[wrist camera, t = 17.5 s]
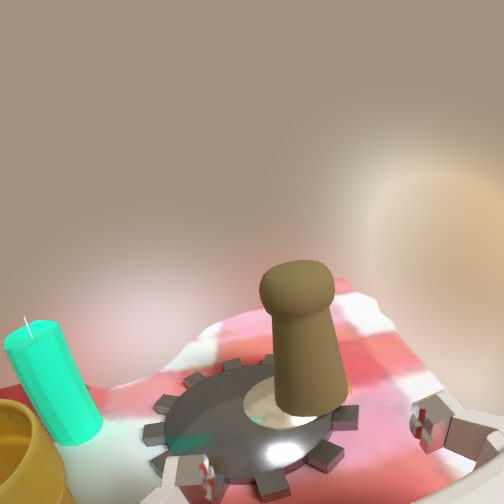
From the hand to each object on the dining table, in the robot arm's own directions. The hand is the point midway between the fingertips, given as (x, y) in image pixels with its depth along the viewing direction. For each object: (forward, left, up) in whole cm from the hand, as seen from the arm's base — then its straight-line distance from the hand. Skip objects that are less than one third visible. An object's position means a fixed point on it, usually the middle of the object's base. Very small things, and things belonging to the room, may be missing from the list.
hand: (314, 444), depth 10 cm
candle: (-8, +23, -9) cm, 26 cm away
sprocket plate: (+5, +12, -9) cm, 15 cm away
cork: (+9, +8, -8) cm, 15 cm away
